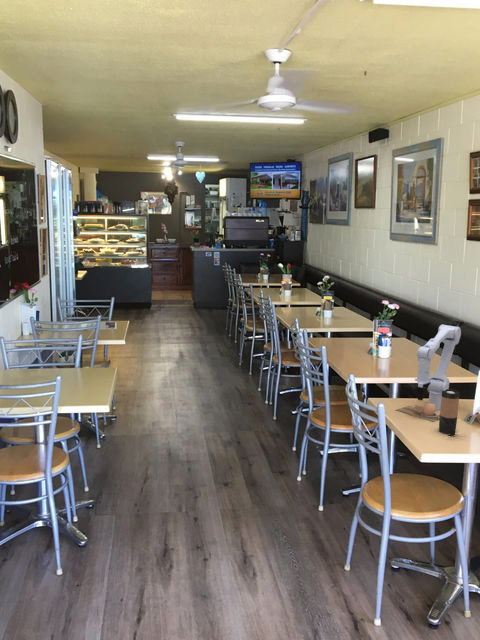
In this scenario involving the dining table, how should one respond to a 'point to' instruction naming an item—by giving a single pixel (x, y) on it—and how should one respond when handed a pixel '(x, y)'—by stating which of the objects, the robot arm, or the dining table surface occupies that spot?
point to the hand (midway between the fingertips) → (421, 398)
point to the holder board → (418, 414)
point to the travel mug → (448, 411)
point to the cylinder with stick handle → (426, 408)
